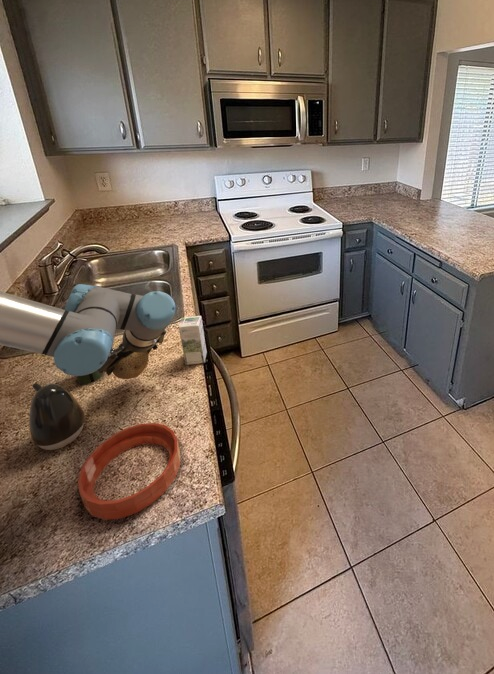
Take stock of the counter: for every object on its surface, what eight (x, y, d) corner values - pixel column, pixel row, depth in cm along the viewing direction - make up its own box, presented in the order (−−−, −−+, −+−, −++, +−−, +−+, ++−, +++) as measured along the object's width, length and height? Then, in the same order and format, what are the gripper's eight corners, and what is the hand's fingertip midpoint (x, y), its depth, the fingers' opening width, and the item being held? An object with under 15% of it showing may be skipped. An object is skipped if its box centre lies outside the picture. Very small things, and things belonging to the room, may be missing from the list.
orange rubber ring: (73, 538, 64) (66, 520, 63) (94, 455, 80) (89, 438, 79) (181, 500, 71) (177, 482, 69) (180, 429, 87) (177, 413, 85)
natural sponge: (144, 387, 94) (137, 356, 91) (109, 391, 93) (100, 359, 90) (155, 365, 103) (149, 335, 99) (123, 368, 102) (116, 338, 98)
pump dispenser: (72, 415, 91) (56, 366, 86) (97, 430, 87) (82, 379, 82) (26, 447, 83) (6, 395, 77) (52, 465, 78) (32, 411, 73)
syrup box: (207, 353, 114) (201, 314, 109) (204, 365, 109) (198, 324, 104) (189, 355, 113) (182, 316, 108) (185, 368, 108) (177, 326, 103)
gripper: (100, 370, 75) (88, 396, 90) (192, 325, 91) (169, 353, 106) (84, 340, 76) (75, 370, 91) (178, 300, 92) (157, 332, 107)
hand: (125, 361), depth 98 cm, fingers closed on natural sponge, 9 cm apart
